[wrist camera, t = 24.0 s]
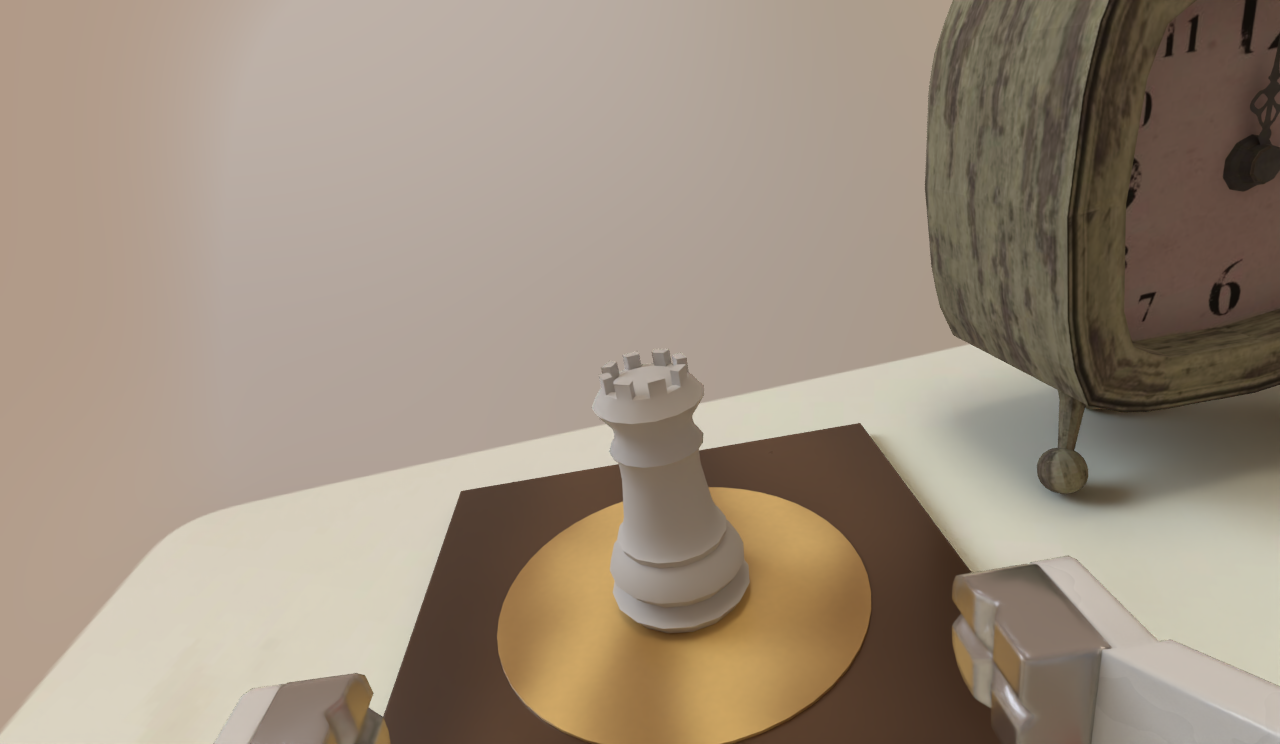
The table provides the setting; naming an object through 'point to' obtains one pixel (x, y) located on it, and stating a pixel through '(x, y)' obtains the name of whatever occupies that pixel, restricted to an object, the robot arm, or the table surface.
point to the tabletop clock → (1110, 199)
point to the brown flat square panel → (712, 656)
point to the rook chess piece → (666, 501)
